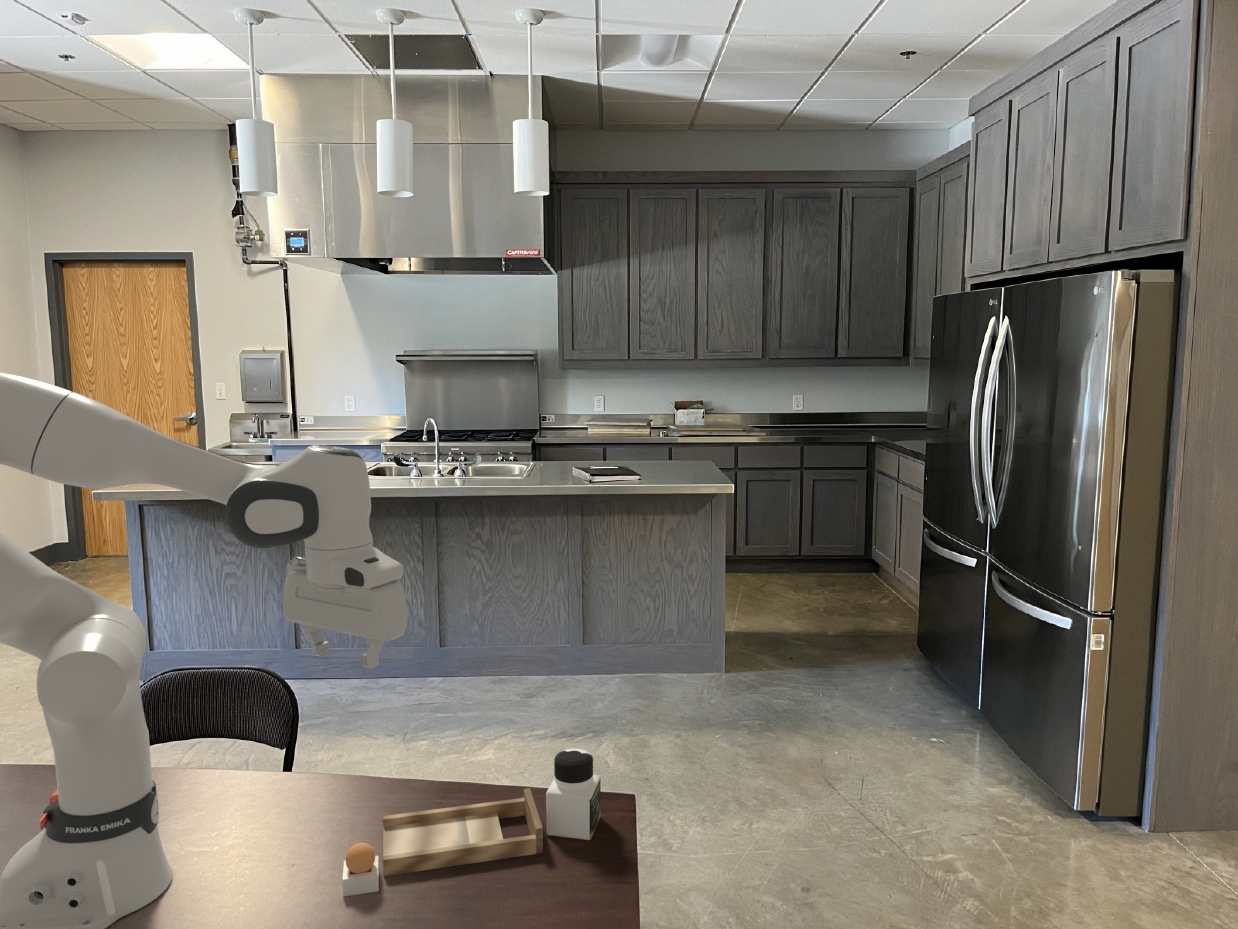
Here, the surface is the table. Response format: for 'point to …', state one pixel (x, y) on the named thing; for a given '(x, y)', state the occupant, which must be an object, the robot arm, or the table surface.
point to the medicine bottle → (573, 796)
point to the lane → (457, 836)
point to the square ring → (361, 880)
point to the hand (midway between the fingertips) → (345, 660)
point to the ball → (360, 858)
